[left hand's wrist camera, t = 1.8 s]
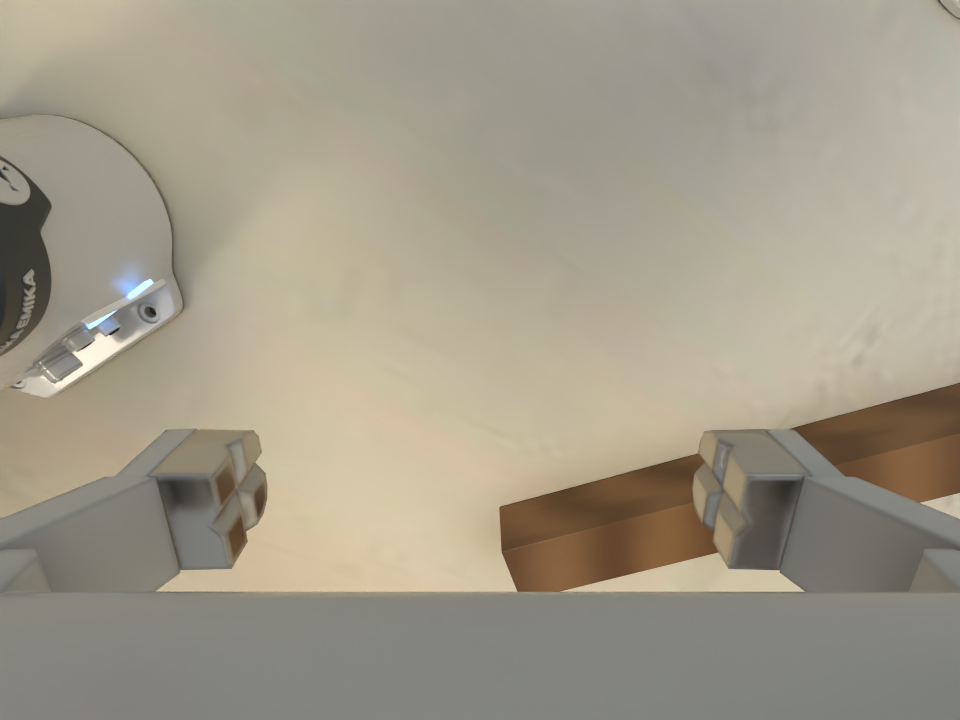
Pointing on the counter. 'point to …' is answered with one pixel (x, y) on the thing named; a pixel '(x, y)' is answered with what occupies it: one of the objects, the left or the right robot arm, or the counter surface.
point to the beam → (670, 507)
